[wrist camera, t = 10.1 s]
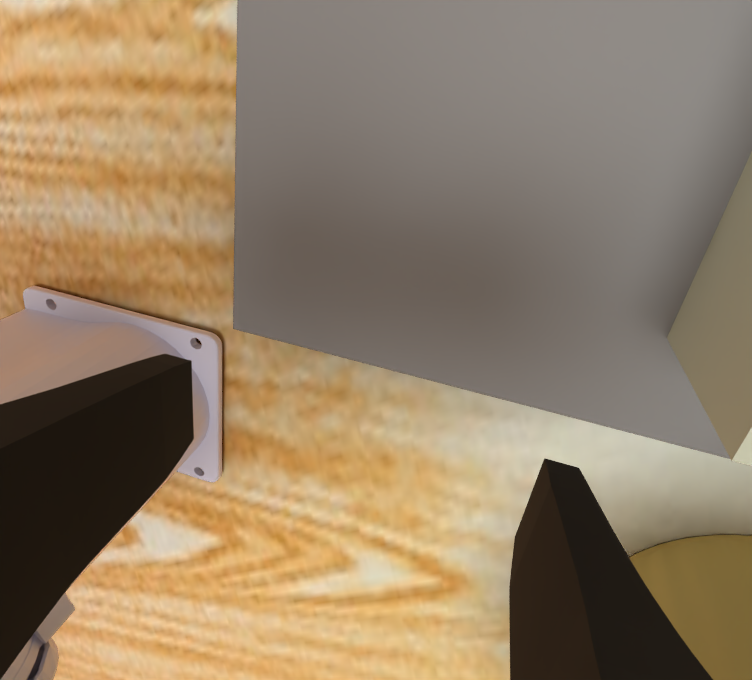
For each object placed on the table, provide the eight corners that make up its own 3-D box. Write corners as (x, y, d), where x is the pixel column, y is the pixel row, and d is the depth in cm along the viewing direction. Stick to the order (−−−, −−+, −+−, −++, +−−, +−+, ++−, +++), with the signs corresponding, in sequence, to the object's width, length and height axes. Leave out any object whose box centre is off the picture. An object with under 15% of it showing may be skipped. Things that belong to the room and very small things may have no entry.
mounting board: (248, 316, 21) (233, 328, 20) (266, -348, 13) (242, -387, 12) (852, 471, 17) (873, 496, 16) (1442, -318, 9) (1560, -370, 8)
